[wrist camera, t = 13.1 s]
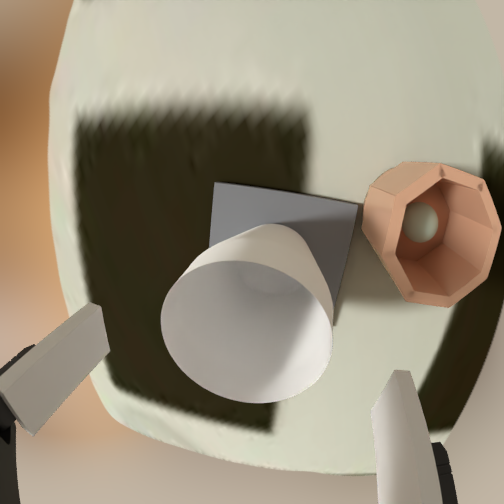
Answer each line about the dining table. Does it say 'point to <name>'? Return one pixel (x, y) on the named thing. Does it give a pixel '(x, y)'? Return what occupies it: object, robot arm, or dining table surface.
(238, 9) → the dining table surface
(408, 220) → the ball
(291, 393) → the cup
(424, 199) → the pot
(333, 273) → the mat
